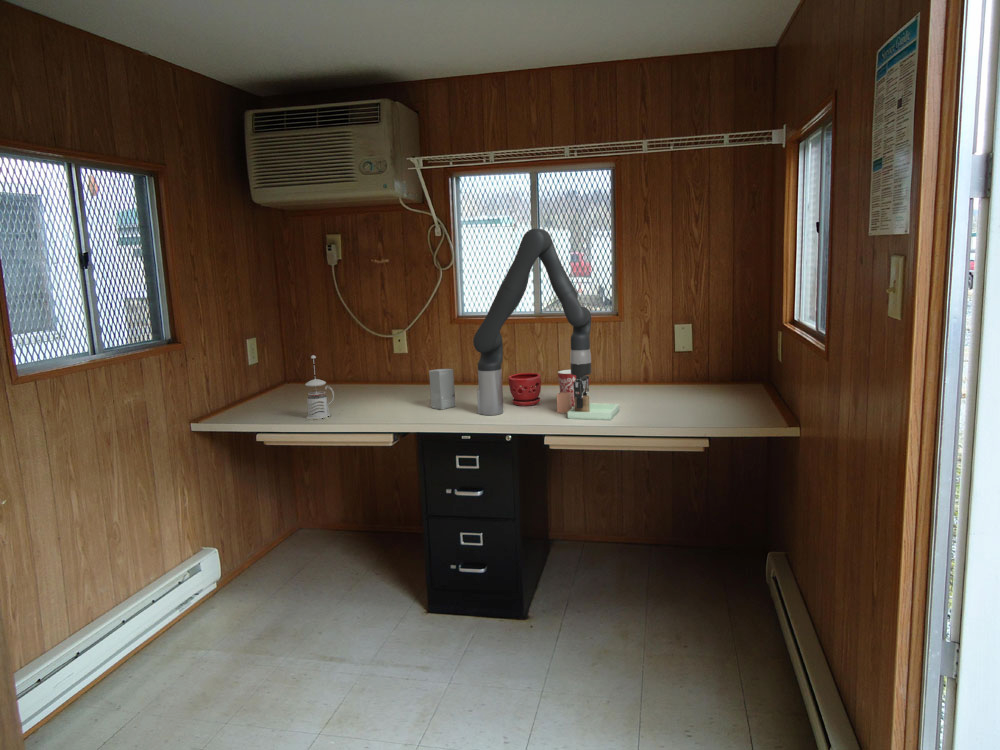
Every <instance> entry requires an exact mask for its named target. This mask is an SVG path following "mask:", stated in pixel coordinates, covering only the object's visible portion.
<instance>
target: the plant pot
mask: <svg viewBox="0 0 1000 750" xmlns="http://www.w3.org/2000/svg"><path fill="white" fill-rule="evenodd" d="M508 385H509V391H510V395H511V396H512V400H511V401H512V403H513V404H514V405H516V406H520V407H527V406H534V405H537V404H539V403H540V401H541V397H539V396H540V395H541V391H542V390H541V389H542V377H541V374H540V373H536V372H520V373H516V374H511V375H510V376H508Z"/></svg>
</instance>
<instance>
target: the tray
mask: <svg viewBox="0 0 1000 750" xmlns="http://www.w3.org/2000/svg"><path fill="white" fill-rule="evenodd" d="M589 409H590V412H575V406H572V409H570V410H569V411H568V413H567V419H568V420H590V421H592V420H593V421H594V420H595V421H612V420H613V419H614V418H615V416H617V414H618V413H619V412H620V403H595V402H594V403H591V402H589Z"/></svg>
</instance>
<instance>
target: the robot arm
mask: <svg viewBox="0 0 1000 750" xmlns="http://www.w3.org/2000/svg"><path fill="white" fill-rule="evenodd" d="M538 258H539V260H540V261H541V263H542V264H543V266H544V268H545V270H546V273H547V276H548V277H547V278H548V279H549V283H550V286H551V288H552V289H553V292H554V293H555V295H556V298H557V299H558V301H559V302H560V304H561V308H562V310H563V314H564V315H565V318H566V320H567V322H568V324H570V325H571V326H572V334H571V336H570V353H569V354H570V356H569V357H570V359H569V360H570V370H571V374H572V375H576V380H575V382H574V383H573V384H574V397H575V398H576V399H577V408H583V396H588V394H589V391H590V389H589V388H590V384H589V379H590V376H589V375H591V374H592V353H591V339H590V334H591V327H592V313H591V311H590V309H588V308H587V307H585V306H582V305H581V303H580V301H579V295H578V292H577V290H576V288H575V286H574V284H573V283H572V281H571V279H570V277H569V276H568V273H567V272H566V271H565V268H564V266H563V264H562V263H561V260H560V257H559V256H558V253H557V249H556V246H555V244H554V241H553V239H552V237H551V235H550V233H549V232H548V230H546V229H543V228H532V229H531V228H530V229H528V230H527V231H526V232H525V233H524V234H523V236H522V239H521V241H520V244H519V247H518V249H517V252H516V255H515V256H514V259H513V261H512V263H511V265H510V266H509V269H508V270H507V272H506V274H505V276H504V278H503V280H502V281H501V284H500V286H499V288H498V290H497V293H496V294H495V297H494V299H493V301H492V302H491V305H490V308H489V309H488V312H487V314H486V316H485V318H484V319H483V321H482V323H481V324H480V325H479V327H478V329H477V330H476V332H475V334H474V335H473V341H472V343H473V347H474V349H475V350H476V351H477V352H478V353H480V356H479V360H478V362H477V379H478V381H477V382H478V389H477V390H476V396H477V397H476V398H477V401H476V402H477V414H478V415H484V416H495V415H496V416H497V415H501V414H503V413H504V395H503V393H504V392H503V390H504V389H503V373H502V365H503V361H504V360H503V359H504V354H503V353H504V350H503V349H504V346H503V345H504V344H503V343H504V342H503V337H502V333H501V329H502V327H503V325H504V324H505V322H506V321H507V320H508V319H509V318H510V316H511V315H512V314H513V313H514V312H515V310H516V309H517V308H518V306H519V305H520V303H521V301H522V298H523V297H524V295H525V293H526V290H527V288H528V284H529V278H530V273H531V271H532V268H533V266H534V264H535V262H536V261H537V259H538ZM586 375H587V376H586ZM578 392H579V394H578Z"/></svg>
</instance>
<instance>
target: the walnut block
mask: <svg viewBox="0 0 1000 750" xmlns="http://www.w3.org/2000/svg"><path fill="white" fill-rule="evenodd" d="M589 403H590V395H587V396H583V408H577V399H576V398H574V404H575V412H590V409H589Z"/></svg>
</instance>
